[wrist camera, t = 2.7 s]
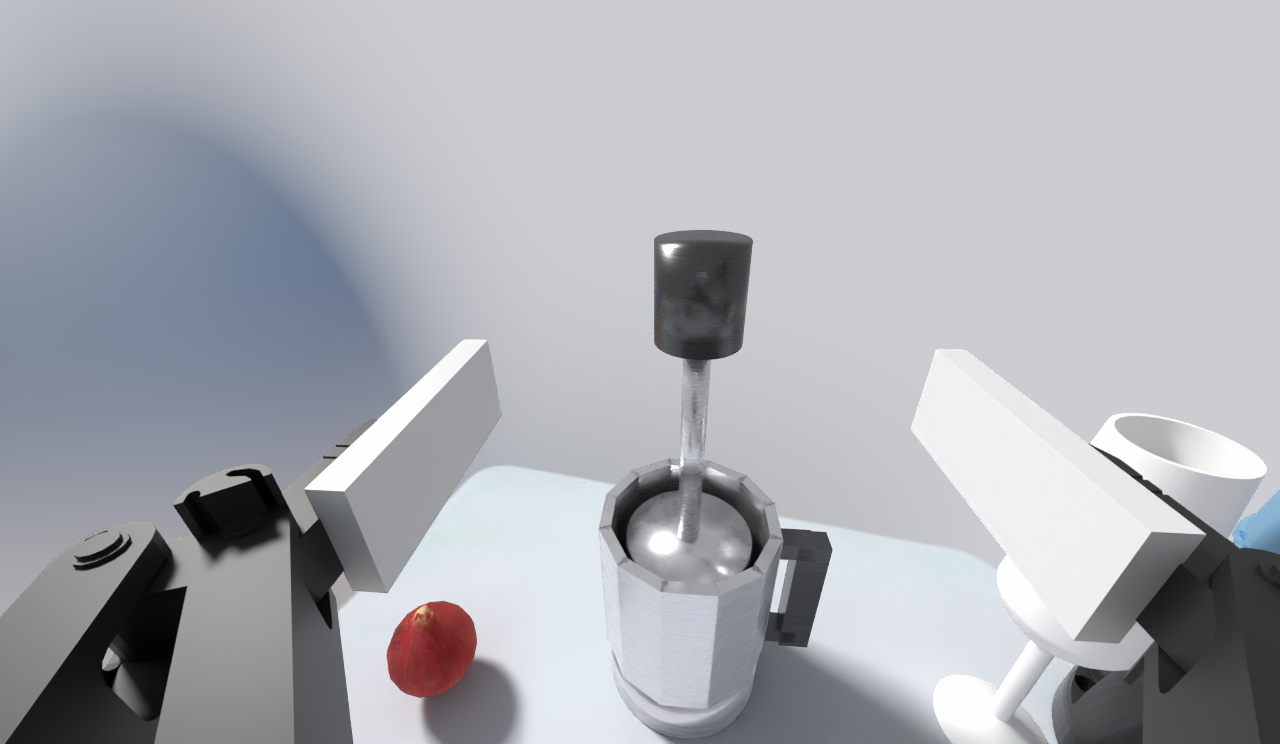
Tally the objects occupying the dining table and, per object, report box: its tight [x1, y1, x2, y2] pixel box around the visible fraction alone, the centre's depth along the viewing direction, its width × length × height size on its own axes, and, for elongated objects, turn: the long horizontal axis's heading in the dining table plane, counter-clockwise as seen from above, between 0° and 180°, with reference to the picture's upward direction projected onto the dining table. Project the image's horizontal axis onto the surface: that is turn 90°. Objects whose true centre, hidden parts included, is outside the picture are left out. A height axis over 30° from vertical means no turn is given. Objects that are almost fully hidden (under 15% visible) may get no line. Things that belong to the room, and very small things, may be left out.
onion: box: [387, 601, 477, 698], centre depth 32 cm, size 6×6×8 cm
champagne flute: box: [933, 413, 1267, 744], centre depth 25 cm, size 7×7×24 cm
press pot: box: [599, 459, 832, 739], centre depth 32 cm, size 14×11×15 cm
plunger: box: [626, 230, 753, 584], centre depth 25 cm, size 8×8×19 cm
